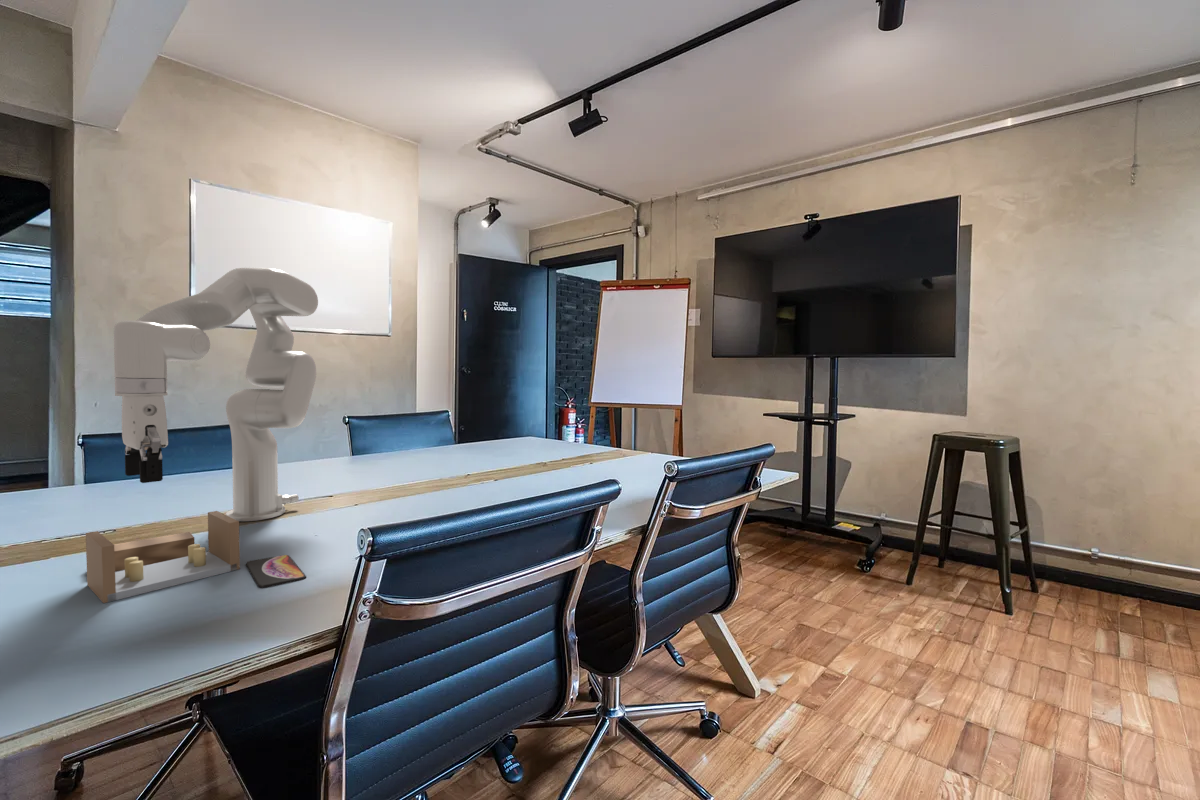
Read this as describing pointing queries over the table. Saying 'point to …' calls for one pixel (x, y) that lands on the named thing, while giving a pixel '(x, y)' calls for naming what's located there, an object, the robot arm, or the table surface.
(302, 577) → the smartphone
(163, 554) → the shelf board
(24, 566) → the table surface
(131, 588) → the peg stand
